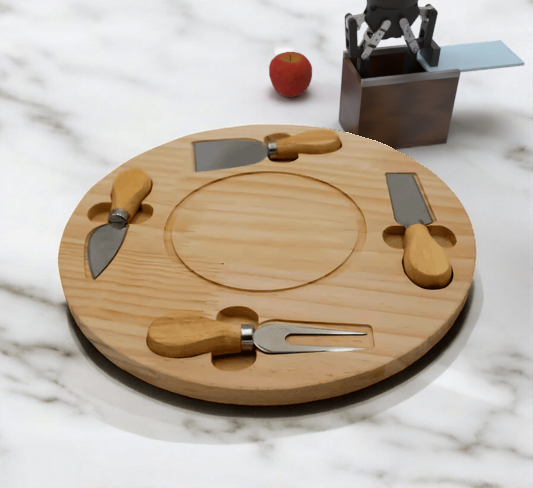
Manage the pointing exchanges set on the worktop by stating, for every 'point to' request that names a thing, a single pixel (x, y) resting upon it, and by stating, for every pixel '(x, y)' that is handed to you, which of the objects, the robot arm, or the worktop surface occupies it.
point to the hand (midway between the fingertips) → (385, 75)
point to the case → (396, 100)
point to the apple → (290, 73)
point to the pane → (468, 56)
